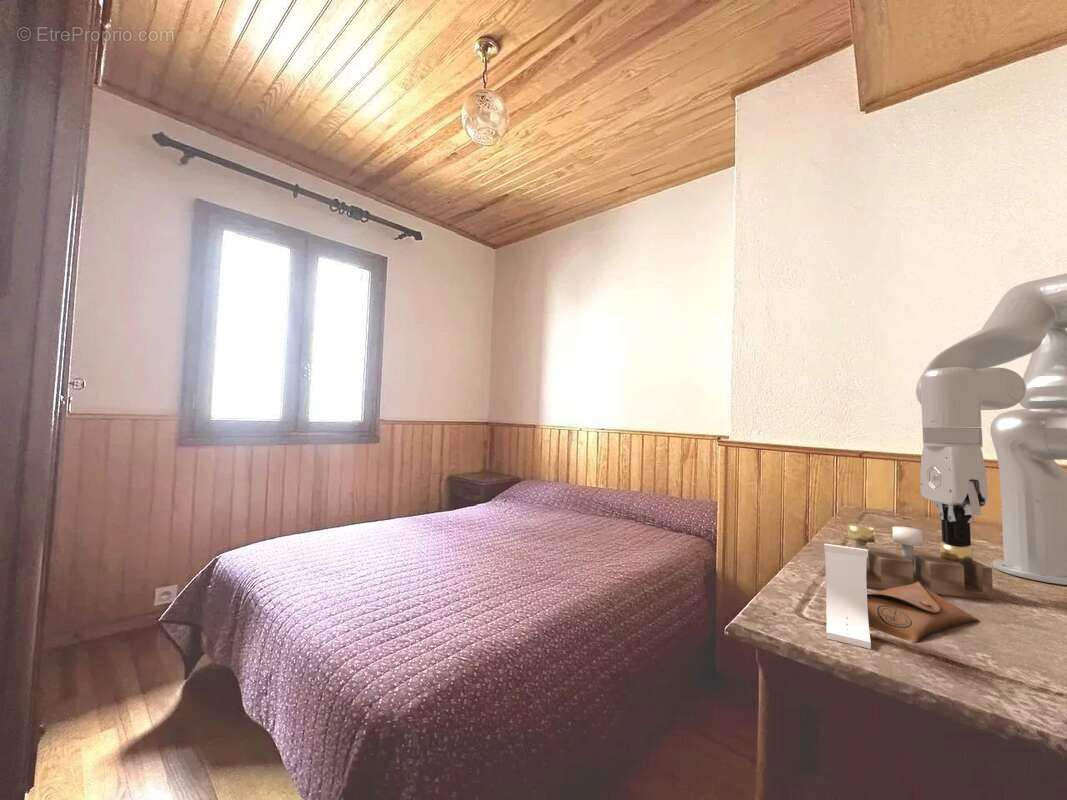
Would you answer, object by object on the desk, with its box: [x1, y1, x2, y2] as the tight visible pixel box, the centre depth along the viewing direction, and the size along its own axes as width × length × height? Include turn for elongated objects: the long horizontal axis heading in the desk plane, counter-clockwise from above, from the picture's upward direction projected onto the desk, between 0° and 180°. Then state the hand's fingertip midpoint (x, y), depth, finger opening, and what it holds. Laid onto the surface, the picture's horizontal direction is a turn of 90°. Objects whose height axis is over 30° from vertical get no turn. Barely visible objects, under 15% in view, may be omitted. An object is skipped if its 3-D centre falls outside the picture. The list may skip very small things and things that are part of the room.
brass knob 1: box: [847, 523, 876, 562], centre depth 79 cm, size 4×4×6 cm
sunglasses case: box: [867, 581, 980, 644], centre depth 63 cm, size 18×7×7 cm
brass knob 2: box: [939, 541, 974, 565], centre depth 75 cm, size 4×4×6 cm
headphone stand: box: [823, 543, 872, 650], centre depth 58 cm, size 5×6×12 cm
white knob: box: [892, 526, 924, 567], centre depth 77 cm, size 4×4×6 cm
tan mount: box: [837, 544, 994, 600], centre depth 76 cm, size 19×8×5 cm, turn 74°
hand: (956, 544), depth 75 cm, fingers closed
